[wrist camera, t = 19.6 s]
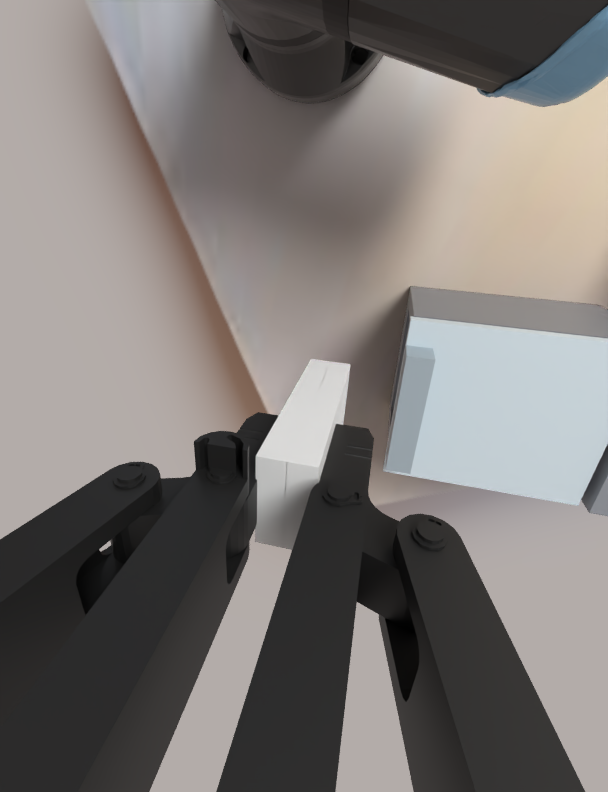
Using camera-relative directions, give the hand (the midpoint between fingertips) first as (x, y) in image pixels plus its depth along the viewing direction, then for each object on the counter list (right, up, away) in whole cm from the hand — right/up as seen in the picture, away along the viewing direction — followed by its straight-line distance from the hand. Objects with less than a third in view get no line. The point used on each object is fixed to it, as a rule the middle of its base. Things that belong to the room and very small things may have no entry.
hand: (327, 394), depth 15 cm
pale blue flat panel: (+15, -1, +17) cm, 23 cm away
